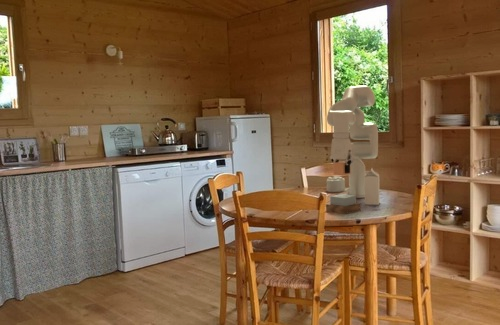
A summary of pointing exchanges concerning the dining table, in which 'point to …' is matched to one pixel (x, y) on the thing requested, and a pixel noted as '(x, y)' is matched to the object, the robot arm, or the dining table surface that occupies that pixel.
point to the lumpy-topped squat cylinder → (335, 184)
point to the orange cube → (340, 168)
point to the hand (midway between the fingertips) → (342, 172)
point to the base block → (343, 208)
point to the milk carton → (372, 188)
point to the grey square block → (343, 199)
